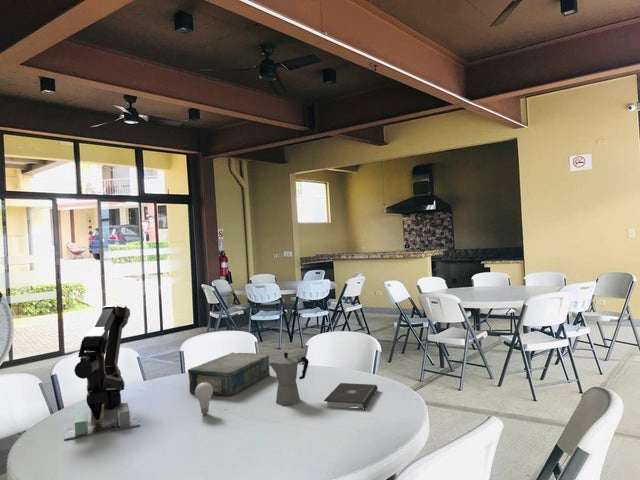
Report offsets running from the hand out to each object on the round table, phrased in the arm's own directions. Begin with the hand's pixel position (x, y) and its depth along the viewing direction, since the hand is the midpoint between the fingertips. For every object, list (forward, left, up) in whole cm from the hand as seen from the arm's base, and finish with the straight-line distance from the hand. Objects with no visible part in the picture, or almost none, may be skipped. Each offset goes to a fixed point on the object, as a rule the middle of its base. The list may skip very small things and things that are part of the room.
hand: (97, 415), depth 167 cm
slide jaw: (+5, -10, 0) cm, 11 cm away
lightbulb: (+33, +16, -2) cm, 37 cm away
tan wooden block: (0, 0, -2) cm, 2 cm away
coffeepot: (+55, +38, -2) cm, 67 cm away
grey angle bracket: (+8, -6, -1) cm, 10 cm away
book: (+76, +47, -2) cm, 90 cm away
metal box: (+20, +50, -2) cm, 54 cm away
